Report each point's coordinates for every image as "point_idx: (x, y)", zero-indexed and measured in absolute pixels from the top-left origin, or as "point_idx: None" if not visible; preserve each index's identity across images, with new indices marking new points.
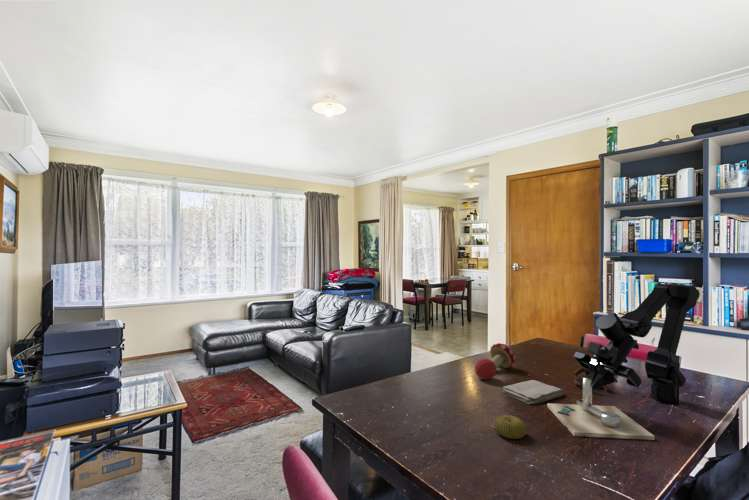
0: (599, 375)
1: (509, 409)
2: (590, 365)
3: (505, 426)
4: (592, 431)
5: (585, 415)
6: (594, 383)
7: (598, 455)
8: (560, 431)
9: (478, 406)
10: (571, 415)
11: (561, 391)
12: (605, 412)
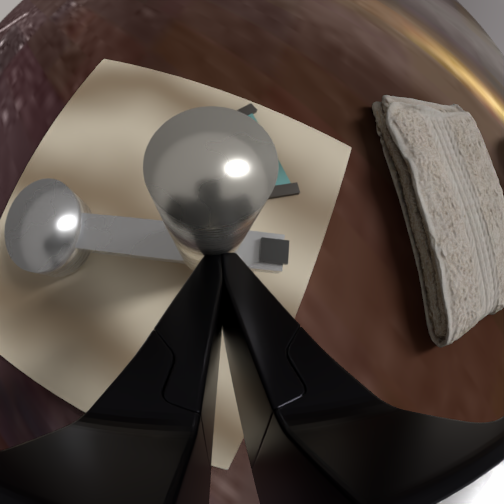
0: (157, 404)
1: (339, 37)
2: (462, 436)
3: None
4: (69, 114)
5: None
6: (183, 290)
7: (24, 69)
8: (149, 51)
9: (363, 7)
10: None
11: (443, 335)
12: (64, 226)
